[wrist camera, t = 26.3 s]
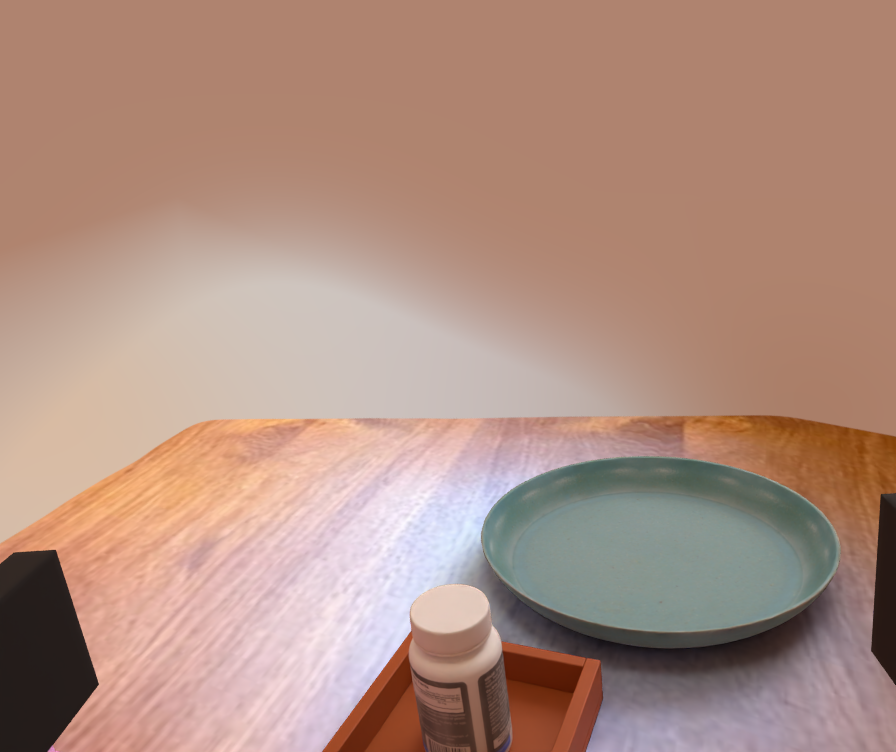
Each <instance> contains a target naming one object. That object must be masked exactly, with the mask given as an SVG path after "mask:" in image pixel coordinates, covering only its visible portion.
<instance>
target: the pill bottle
mask: <svg viewBox="0 0 896 752" xmlns="http://www.w3.org/2000/svg"><path fill="white" fill-rule="evenodd" d="M410 622H411V631H412V636H413V639H412V641H411V643H410V647H409V662H410V668H411V674H412V680H413V686H414V691H415V697H416V702H417V709H418V715H419V721H420V726H421V732H422V738H423V744H424V748H425V752H508V751H509V749H510V746H511V743H512V724H511V716H510V708H509V699H508V692H507V683H506V676H505V667H504V657H503V649H502V643H501V639H500V636H499V634H498V632H497V630H496V629H495V628H494V626H493V625H492V619H491V613H490V606H489V602H488V599H487V597H486V596H485V594H484V593H483V592H482V591H480V590H479V589H477V588H475V587H472V586H469V585H464V584H449V585H442V586H438V587H435V588H433V589H430V590H428V591H426V592H425V593H423V594H422V595H420V596H419V597H418V598H417V599H416V600H415V601H414V603H413V604H412V606H411V609H410Z"/></svg>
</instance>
